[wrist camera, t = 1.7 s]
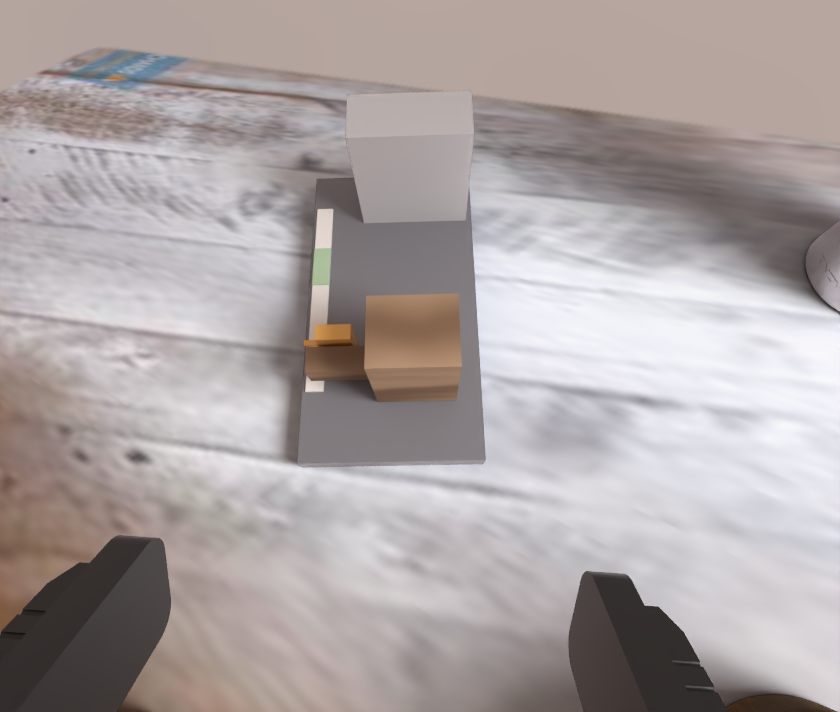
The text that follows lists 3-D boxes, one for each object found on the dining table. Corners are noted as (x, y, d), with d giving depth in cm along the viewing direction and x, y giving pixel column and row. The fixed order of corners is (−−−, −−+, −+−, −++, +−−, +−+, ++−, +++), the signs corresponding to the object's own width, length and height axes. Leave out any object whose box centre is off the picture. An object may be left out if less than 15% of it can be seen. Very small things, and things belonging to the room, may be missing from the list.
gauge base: (483, 463, 38) (503, 433, 27) (303, 467, 39) (250, 438, 27) (467, 188, 47) (477, 79, 36) (321, 193, 48) (286, 86, 36)
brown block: (456, 400, 38) (461, 366, 30) (313, 403, 38) (283, 370, 30) (453, 339, 40) (458, 293, 32) (316, 343, 40) (289, 297, 32)
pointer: (357, 356, 39) (350, 339, 36) (304, 357, 39) (292, 340, 36) (357, 342, 40) (350, 324, 36) (305, 343, 40) (293, 325, 36)
